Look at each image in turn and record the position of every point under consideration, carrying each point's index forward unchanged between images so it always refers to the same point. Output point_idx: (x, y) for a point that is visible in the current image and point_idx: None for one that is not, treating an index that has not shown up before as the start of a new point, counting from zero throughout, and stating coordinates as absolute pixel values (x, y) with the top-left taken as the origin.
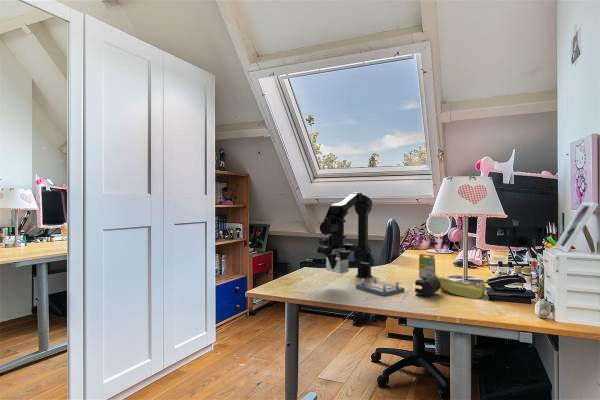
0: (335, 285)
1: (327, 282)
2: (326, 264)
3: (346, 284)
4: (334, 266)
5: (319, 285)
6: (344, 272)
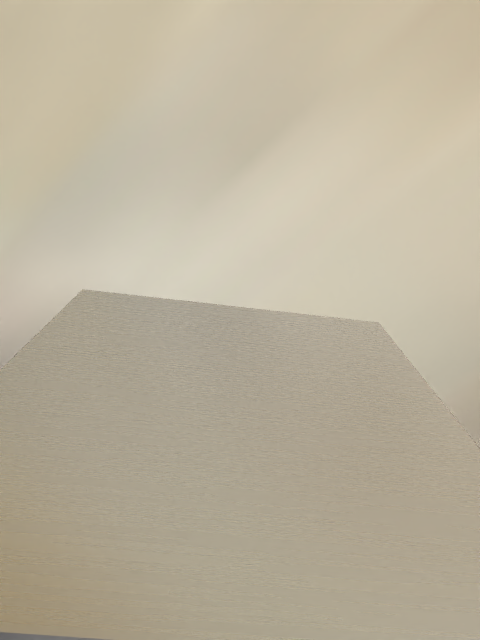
0: (278, 286)
1: (345, 69)
2: (9, 378)
3: (425, 343)
4: None
5: (98, 126)
6: None
